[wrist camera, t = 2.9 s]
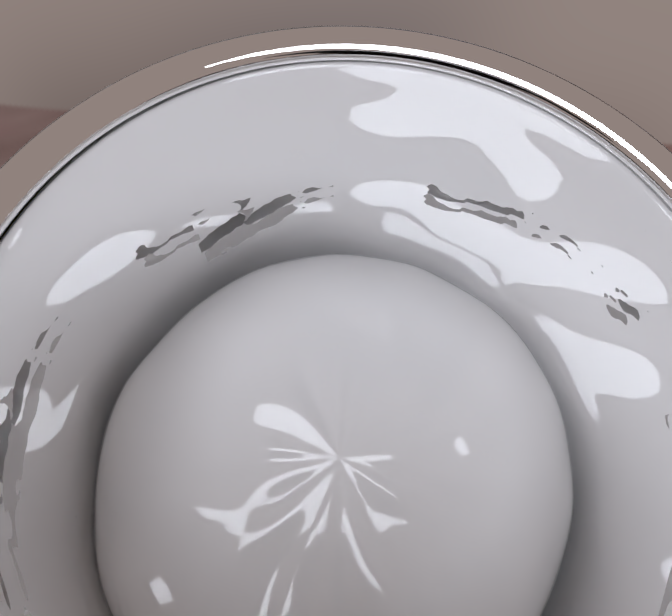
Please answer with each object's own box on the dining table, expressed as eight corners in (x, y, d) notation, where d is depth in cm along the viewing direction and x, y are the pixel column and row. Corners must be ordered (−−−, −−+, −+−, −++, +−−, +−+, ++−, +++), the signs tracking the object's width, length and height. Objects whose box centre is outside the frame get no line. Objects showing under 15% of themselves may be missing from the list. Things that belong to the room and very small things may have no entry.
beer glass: (158, 522, 18) (-387, 373, 4) (321, 362, 20) (341, -98, 6) (327, 712, 16) (422, 1668, 2) (485, 514, 18) (1039, 356, 4)
